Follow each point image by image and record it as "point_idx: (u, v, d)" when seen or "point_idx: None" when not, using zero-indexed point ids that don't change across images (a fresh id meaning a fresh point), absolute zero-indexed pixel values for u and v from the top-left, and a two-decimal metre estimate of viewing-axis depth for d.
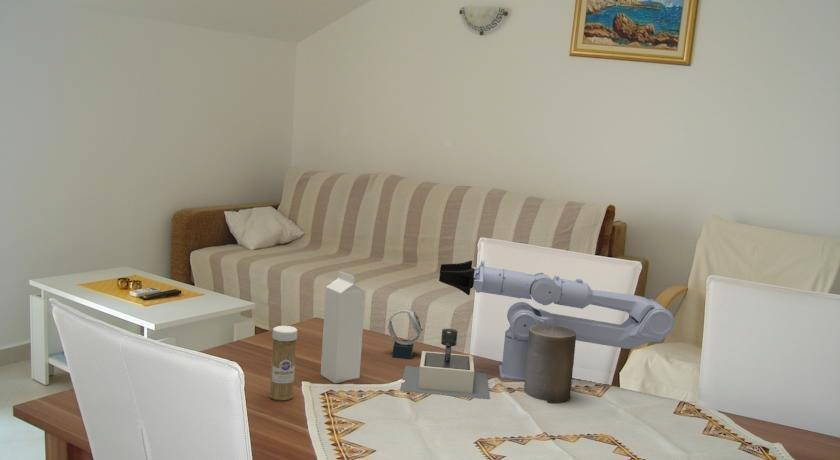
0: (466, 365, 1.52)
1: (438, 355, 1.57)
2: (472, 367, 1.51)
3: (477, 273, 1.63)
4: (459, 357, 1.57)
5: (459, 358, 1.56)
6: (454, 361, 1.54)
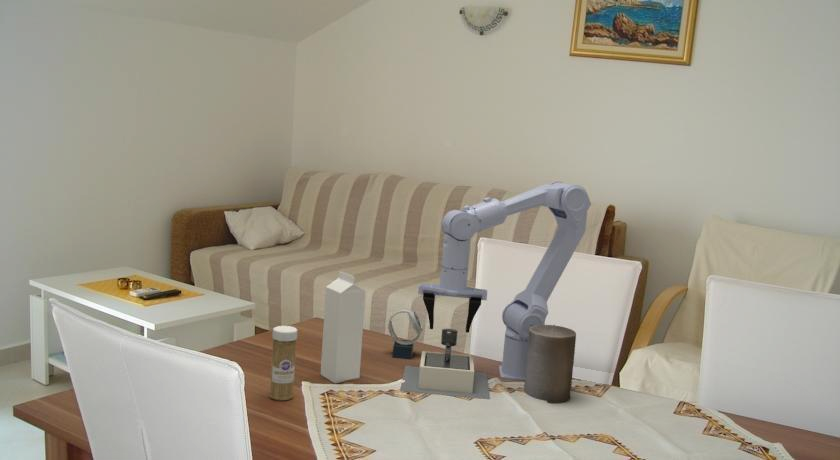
0: (466, 365, 1.52)
1: (438, 355, 1.57)
2: (472, 367, 1.51)
3: None
4: (459, 357, 1.57)
5: (459, 358, 1.56)
6: (454, 361, 1.54)
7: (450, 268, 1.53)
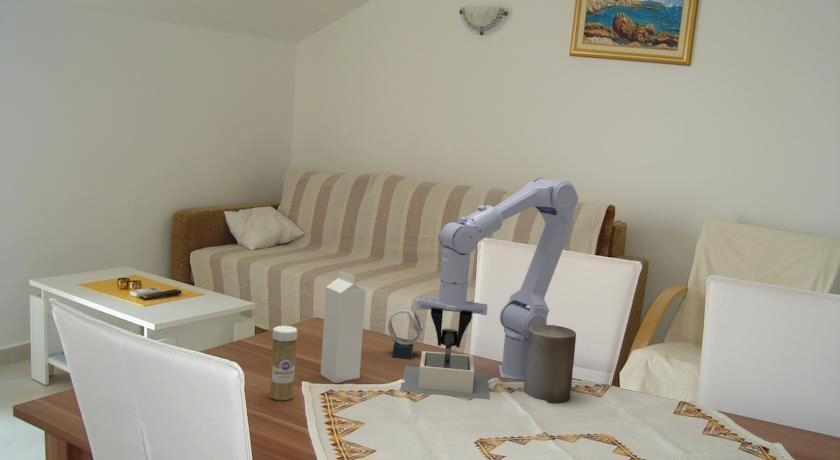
0: (466, 365, 1.52)
1: (438, 355, 1.57)
2: (472, 367, 1.51)
3: None
4: (459, 357, 1.57)
5: (459, 358, 1.56)
6: (454, 361, 1.54)
7: (449, 282, 1.49)
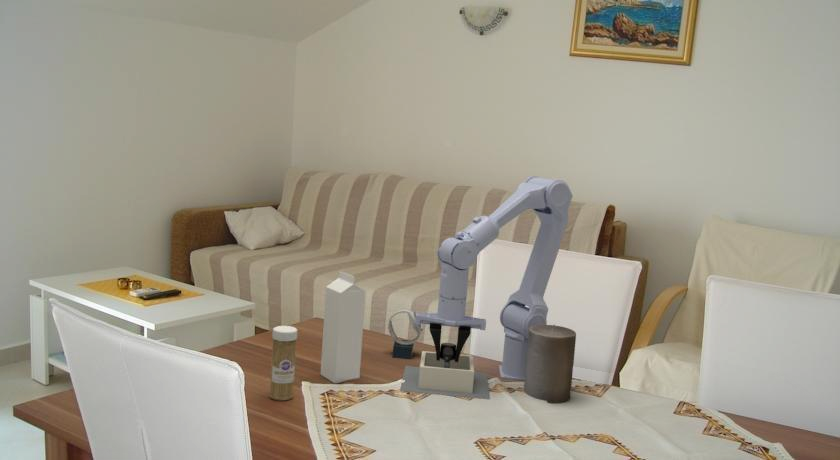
0: None
1: None
2: (472, 367, 1.51)
3: None
4: None
5: None
6: None
7: (448, 298, 1.49)
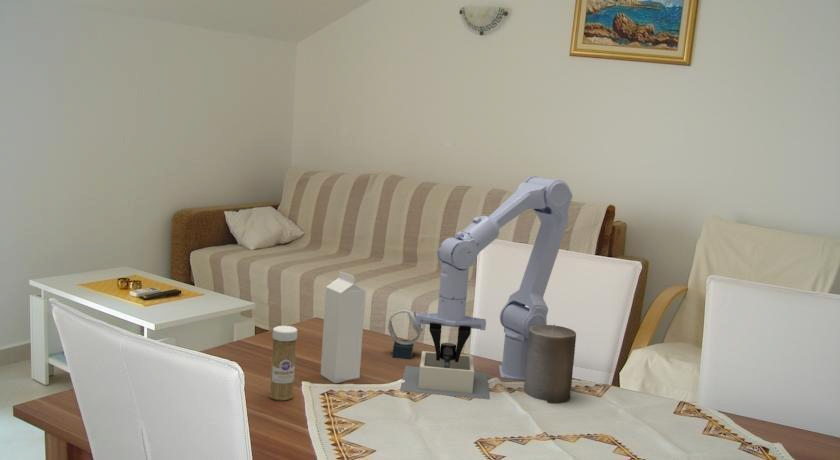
0: None
1: None
2: (472, 367, 1.51)
3: None
4: None
5: None
6: None
7: (448, 298, 1.49)
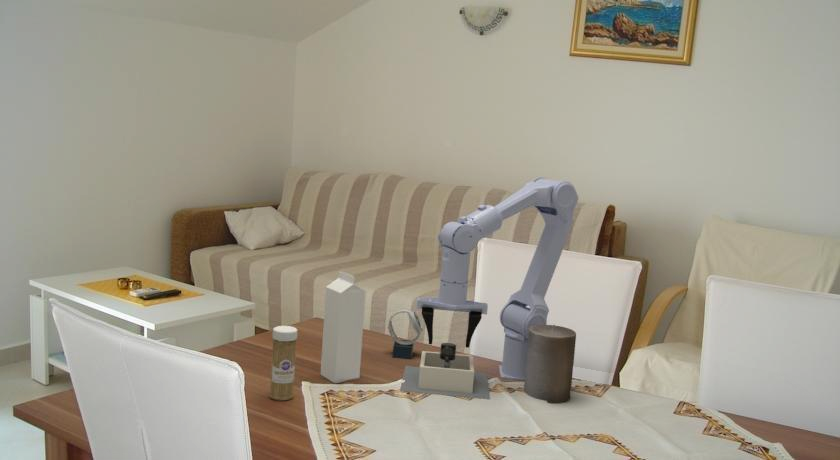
0: None
1: None
2: (472, 367, 1.51)
3: None
4: None
5: None
6: None
7: (449, 282, 1.49)
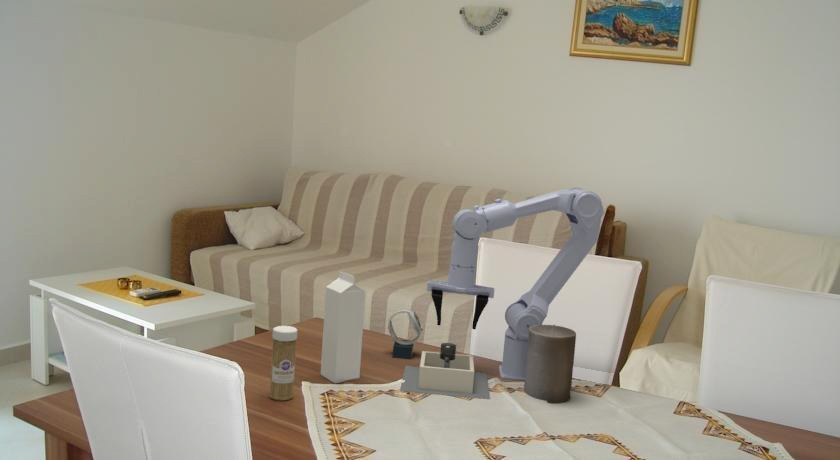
0: None
1: None
2: (472, 367, 1.51)
3: None
4: None
5: None
6: None
7: (459, 266, 1.56)
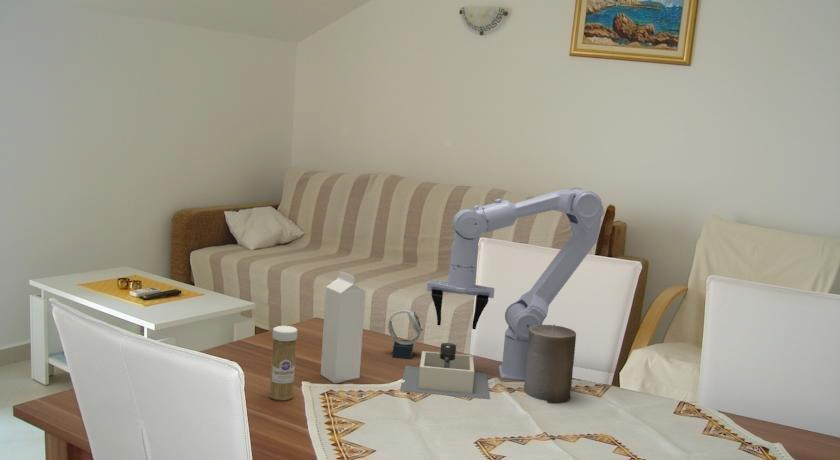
0: None
1: None
2: (472, 367, 1.51)
3: None
4: None
5: None
6: None
7: (459, 266, 1.56)
